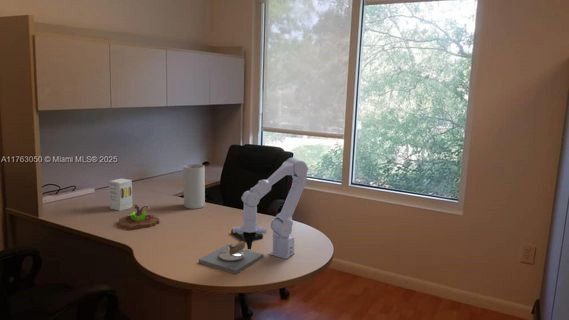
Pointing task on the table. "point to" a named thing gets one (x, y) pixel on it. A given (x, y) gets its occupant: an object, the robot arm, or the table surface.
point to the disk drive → (240, 236)
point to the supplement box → (120, 194)
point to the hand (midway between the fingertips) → (249, 248)
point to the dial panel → (233, 266)
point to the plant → (138, 220)
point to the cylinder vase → (194, 186)
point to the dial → (233, 252)
